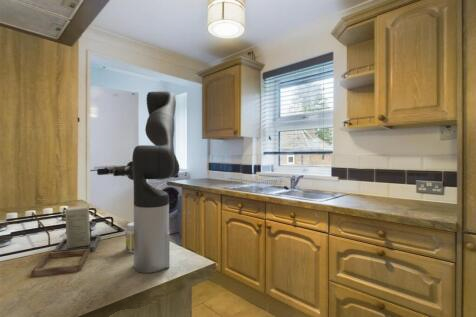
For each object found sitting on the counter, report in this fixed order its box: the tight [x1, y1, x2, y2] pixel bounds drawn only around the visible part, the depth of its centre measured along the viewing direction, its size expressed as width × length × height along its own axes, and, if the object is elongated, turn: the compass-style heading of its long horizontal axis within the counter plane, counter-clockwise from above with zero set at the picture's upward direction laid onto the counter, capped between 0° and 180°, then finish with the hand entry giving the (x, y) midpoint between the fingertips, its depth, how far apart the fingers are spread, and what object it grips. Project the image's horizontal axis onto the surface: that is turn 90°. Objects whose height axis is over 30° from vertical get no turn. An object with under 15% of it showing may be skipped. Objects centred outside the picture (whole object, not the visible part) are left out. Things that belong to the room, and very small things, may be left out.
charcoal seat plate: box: [52, 235, 101, 253], centre depth 85 cm, size 11×11×1 cm
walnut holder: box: [30, 248, 91, 278], centre depth 73 cm, size 11×12×2 cm
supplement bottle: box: [125, 221, 134, 253], centre depth 83 cm, size 5×5×8 cm
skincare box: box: [64, 205, 91, 248], centre depth 85 cm, size 6×4×12 cm
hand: (105, 172), depth 93 cm, fingers open, 8 cm apart
